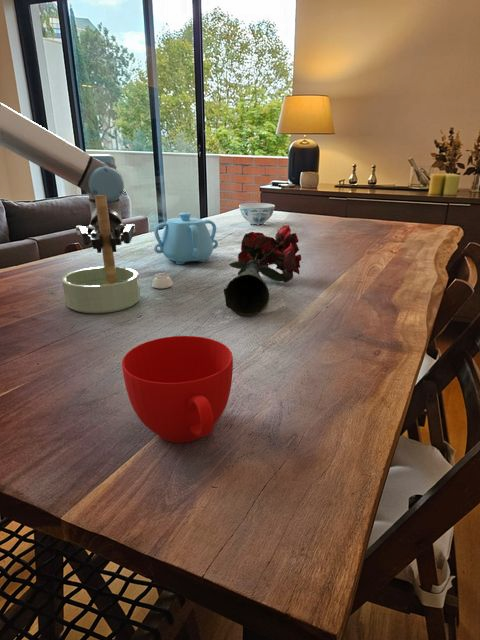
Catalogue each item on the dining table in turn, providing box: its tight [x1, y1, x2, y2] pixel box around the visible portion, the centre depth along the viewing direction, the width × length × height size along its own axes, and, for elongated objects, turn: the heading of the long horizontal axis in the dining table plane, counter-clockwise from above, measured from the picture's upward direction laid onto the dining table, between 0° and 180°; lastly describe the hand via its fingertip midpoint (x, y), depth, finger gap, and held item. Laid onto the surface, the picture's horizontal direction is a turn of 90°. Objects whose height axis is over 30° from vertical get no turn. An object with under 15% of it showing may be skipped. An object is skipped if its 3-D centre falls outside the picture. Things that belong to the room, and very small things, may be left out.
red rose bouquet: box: [223, 224, 302, 318], centre depth 107 cm, size 16×18×35 cm
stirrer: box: [95, 195, 117, 285], centre depth 96 cm, size 5×5×20 cm
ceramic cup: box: [121, 335, 234, 444], centre depth 55 cm, size 13×17×10 cm
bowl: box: [61, 266, 142, 314], centre depth 100 cm, size 16×16×6 cm
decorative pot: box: [153, 212, 219, 265], centre depth 134 cm, size 16×16×14 cm
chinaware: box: [238, 202, 276, 225], centre depth 194 cm, size 15×15×8 cm
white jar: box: [151, 272, 174, 290], centre depth 112 cm, size 5×3×5 cm
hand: (106, 245), depth 91 cm, fingers closed on stirrer, 2 cm apart
